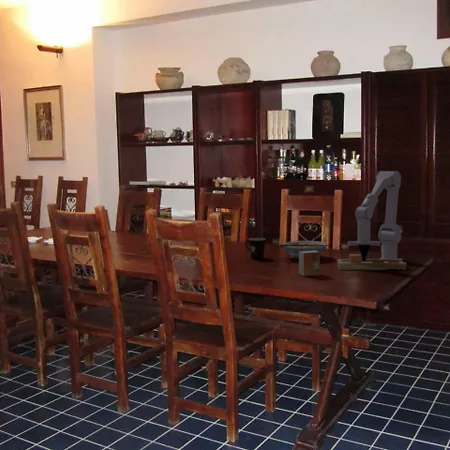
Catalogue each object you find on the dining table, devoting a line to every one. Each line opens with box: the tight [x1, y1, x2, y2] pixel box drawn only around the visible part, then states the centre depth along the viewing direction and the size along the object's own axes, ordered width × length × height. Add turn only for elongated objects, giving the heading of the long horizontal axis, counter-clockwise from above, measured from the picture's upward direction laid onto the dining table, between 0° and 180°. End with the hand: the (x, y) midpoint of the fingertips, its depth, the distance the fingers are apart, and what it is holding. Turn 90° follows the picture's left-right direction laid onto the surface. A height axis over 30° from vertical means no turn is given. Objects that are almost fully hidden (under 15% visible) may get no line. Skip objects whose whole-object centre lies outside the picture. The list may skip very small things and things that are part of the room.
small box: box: [298, 250, 321, 277], centre depth 271 cm, size 8×6×10 cm
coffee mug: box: [244, 237, 266, 260], centre depth 317 cm, size 12×9×10 cm
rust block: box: [348, 253, 362, 263], centre depth 285 cm, size 5×5×4 cm
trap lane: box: [337, 258, 407, 271], centre depth 285 cm, size 11×30×3 cm, turn 84°
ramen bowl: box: [279, 240, 331, 260], centre depth 312 cm, size 25×23×8 cm
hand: (363, 261), depth 285 cm, fingers closed
